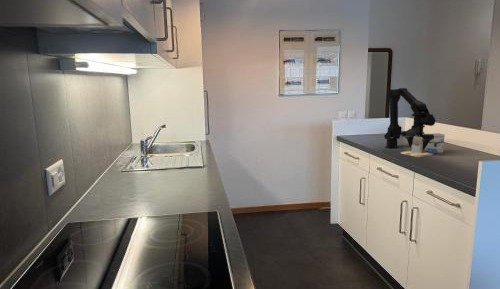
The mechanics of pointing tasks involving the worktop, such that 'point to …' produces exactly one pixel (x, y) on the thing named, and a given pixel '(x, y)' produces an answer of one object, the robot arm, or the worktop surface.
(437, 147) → the ink box
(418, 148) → the tube
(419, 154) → the shaft block
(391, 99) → the robot arm
